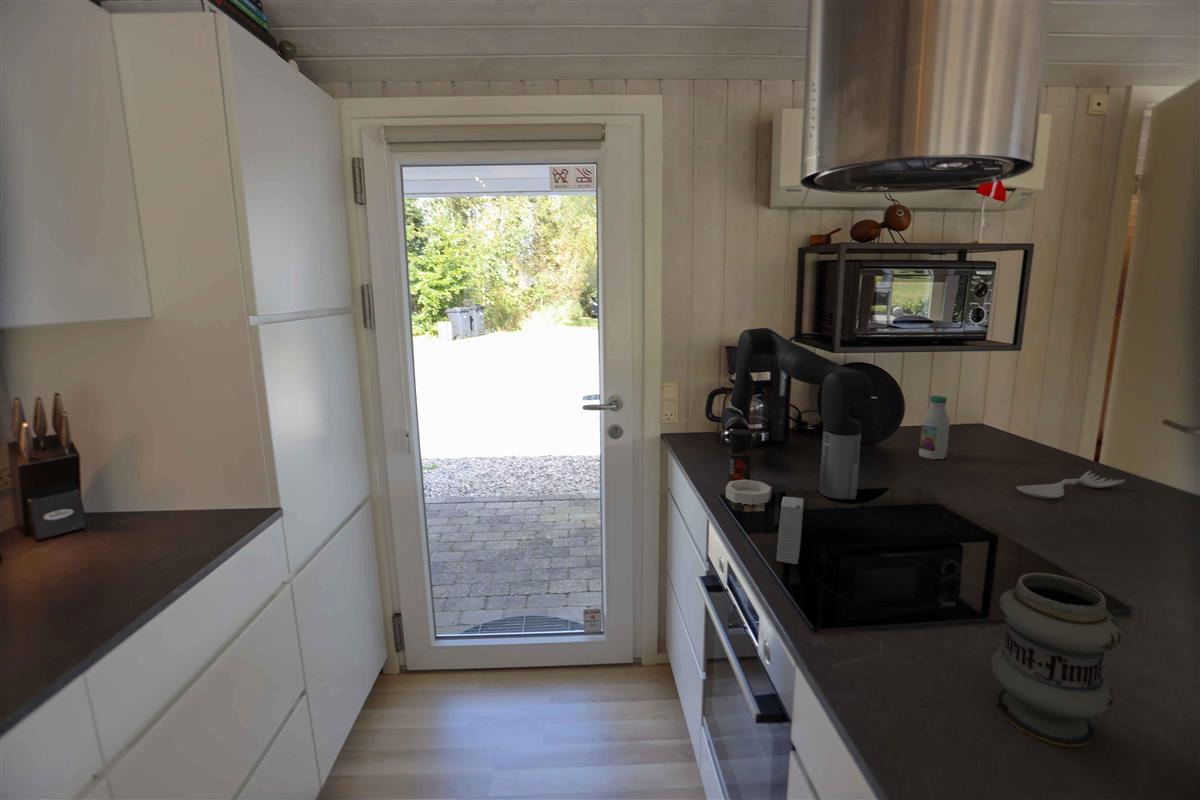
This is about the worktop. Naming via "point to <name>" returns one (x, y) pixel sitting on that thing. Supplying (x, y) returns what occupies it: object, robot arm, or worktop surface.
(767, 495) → the dish
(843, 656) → the worktop surface
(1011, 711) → the apothecary jar
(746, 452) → the deodorant
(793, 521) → the skincare box
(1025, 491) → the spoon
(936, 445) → the milk bottle
